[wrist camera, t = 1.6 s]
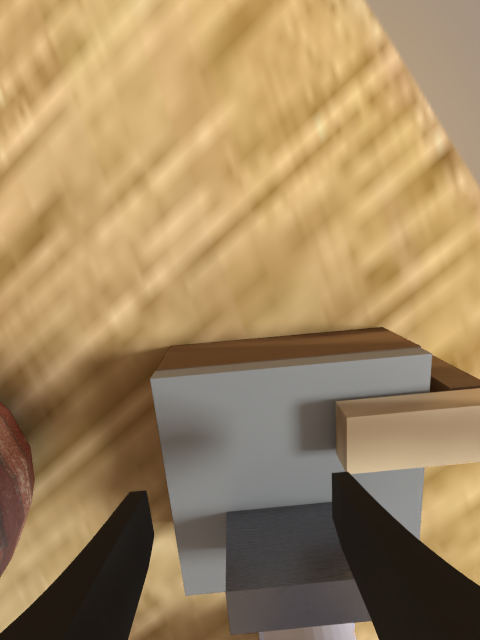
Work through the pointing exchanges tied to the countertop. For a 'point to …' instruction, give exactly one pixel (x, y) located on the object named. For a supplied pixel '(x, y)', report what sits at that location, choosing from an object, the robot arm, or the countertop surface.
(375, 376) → the lid
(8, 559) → the pottery
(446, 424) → the thin wooden plank
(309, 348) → the box
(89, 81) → the countertop surface
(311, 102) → the countertop surface
